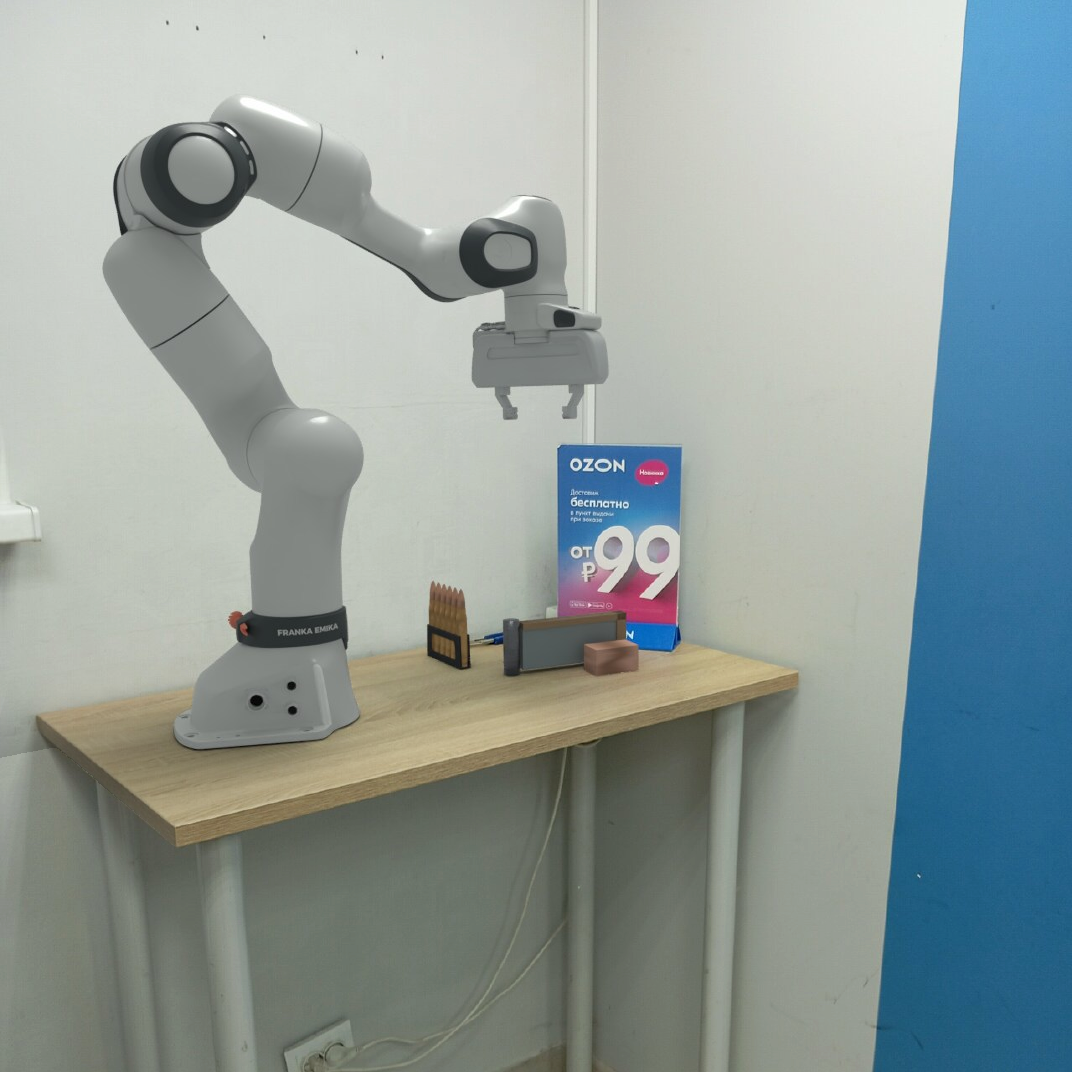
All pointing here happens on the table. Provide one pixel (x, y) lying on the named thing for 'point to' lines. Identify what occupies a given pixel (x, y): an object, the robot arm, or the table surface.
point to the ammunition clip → (448, 627)
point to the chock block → (611, 657)
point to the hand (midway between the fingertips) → (539, 419)
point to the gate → (566, 637)
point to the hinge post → (511, 647)
